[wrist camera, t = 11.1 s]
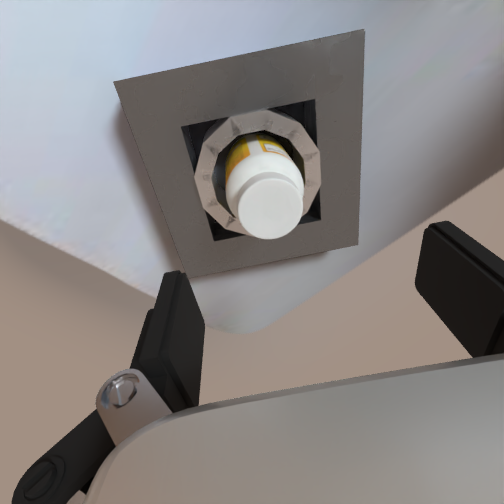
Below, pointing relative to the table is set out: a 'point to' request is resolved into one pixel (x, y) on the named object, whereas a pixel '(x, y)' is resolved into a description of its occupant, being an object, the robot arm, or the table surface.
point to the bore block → (246, 121)
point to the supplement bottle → (263, 186)
